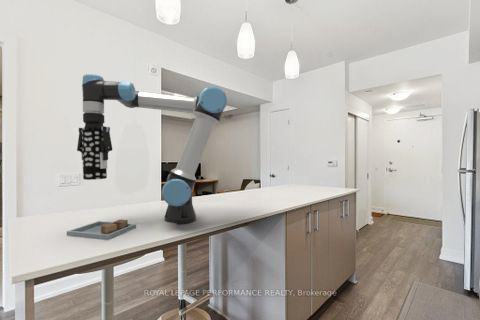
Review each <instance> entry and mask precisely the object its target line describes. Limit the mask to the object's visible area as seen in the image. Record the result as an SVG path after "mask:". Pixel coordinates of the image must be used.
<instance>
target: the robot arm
mask: <svg viewBox="0 0 480 320" xmlns="http://www.w3.org/2000/svg"><path fill="white" fill-rule="evenodd" d="M81 89H82V112H83V113H82V122H83V123H84V127H78V140H77V146H76V147H77V148H76V151H77V152H80V153H81V160H82V161H83V148H82V130H84V129H94V130H102V133H103V139H104V140H103V141H102V140H100V148H101V151H100V152H103V153H100V169H104V168H106V169H108V160H109V152H111V151H113V145H112V139H111V134H110V131H111V127H110V126H104V124H105V115H104V114H105V100H106V101H107V100H108V101H117V102H119V103H120V104H122V105H123V106H124V107H126V108H130V109H134V108H139V109H140V108H141V109H142V108H143V109H150V110H151V109H152V110H160V111H169V112H177V113H187V114H192V115H193V116H194V117H195V119H194V121H193V124H192V126H191V130H190V131H189V134H188V136H187V139H186V141H185V144H184V147H183V149H182V151H181V154H180V156H179V159H178V162H177V165H176V166H175V168H173V169H171V170H170V172H169V174H168V175H167V178H166V182H164V184H163V186H162V189H161V190H162V192H161V196H162V199H163V201H164V202H165V203H166V204H167V208H166V211H165V215H164V222H166V223H170V224H171V223H172V224H176V225H183V224H188V223H189V224H190V223H192V222H195V221H196V220H197V215H196V211H195V208H194V205H193V189H194V186H195V184H196V182H197V178H196V176H195V174H196V172H197V169H198V167H199V164H200V161H201V160H202V157H203V154H204V152H205V149H206V146H207V144H208V142H209V139H210V136H211V135H212V131H213V129H214V126H215V125H217V124H220V123H219V122H220V121H221V118H222V115H223V113H224V111H225V108H226V106H227V105H228V98H227V95H226V93H225V92H224V91H223V89H222V88H220V87H217V86H212V85H211V86H207V87H205V88H203V90H202V91H201V92H200V94H199V95H195V96H194V97H190V96H182V95H173V94H172V95H171V94H164V93H156V92H155V93H154V92H147V91H139V90H138V91H137V90H136V87H135V85H134V83H133V82H131V81H130V82H129V81H124V80H123V81H115V80H114V81H112V80H111V81H110V80H104V77H103V76H101V75H98V74H94V73H85V74H83V76H82V83H81Z"/></svg>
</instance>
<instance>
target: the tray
mask: <svg viewBox="0 0 480 320" xmlns="http://www.w3.org/2000/svg"><path fill="white" fill-rule="evenodd" d="M113 222H114V221H101V220H98V221H95V222H91V223H88V224H85V225H82V226H80V227H76V228H73V229H70V230H67V231H66V237H74V238H85V239H91V240H92V239H93V240H101V241H102V240H104V241H109V240H112V239H114V238H116V237H119V236H121V235H124V234H126V233H128V232H131V231H132V230H135V229H136V228H137V224H136V223H128V227H125V228H123V229H120V230H118V231H115V232H113V233H110V234H101V226H102V225H106V224H110V223H112V224H113Z"/></svg>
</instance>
